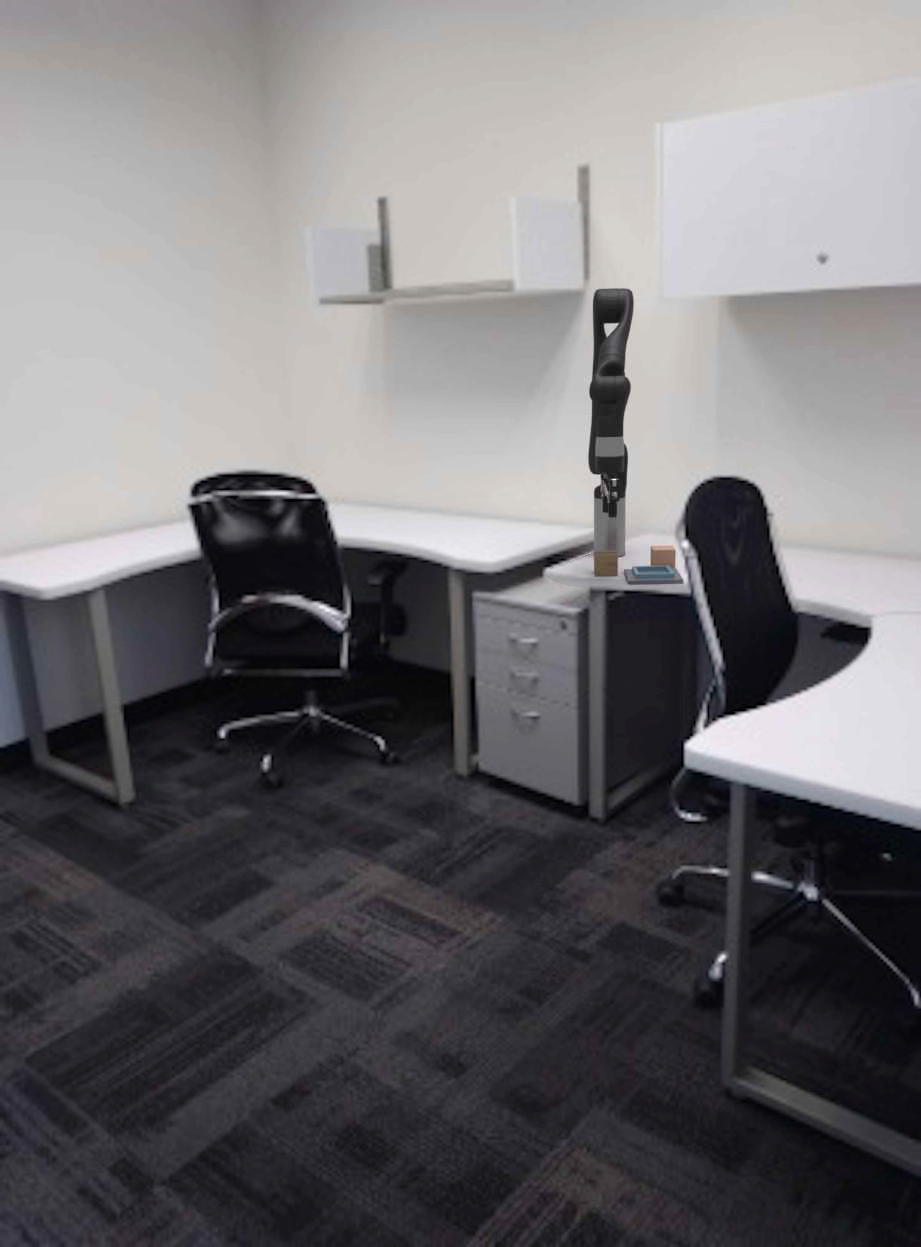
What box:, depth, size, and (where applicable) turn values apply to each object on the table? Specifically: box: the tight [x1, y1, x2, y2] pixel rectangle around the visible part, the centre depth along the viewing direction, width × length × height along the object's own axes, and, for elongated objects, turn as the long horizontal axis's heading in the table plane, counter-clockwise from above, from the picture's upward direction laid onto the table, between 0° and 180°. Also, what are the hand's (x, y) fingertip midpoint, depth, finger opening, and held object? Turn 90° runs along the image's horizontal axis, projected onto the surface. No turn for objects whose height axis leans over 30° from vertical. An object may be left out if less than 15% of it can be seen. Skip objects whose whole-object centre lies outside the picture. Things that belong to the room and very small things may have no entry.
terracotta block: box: [649, 545, 676, 568], centre depth 268 cm, size 6×6×6 cm
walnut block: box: [593, 550, 619, 578], centre depth 265 cm, size 6×6×6 cm
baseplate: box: [623, 565, 684, 585], centre depth 259 cm, size 14×14×2 cm
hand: (609, 514), depth 261 cm, fingers open, 8 cm apart
